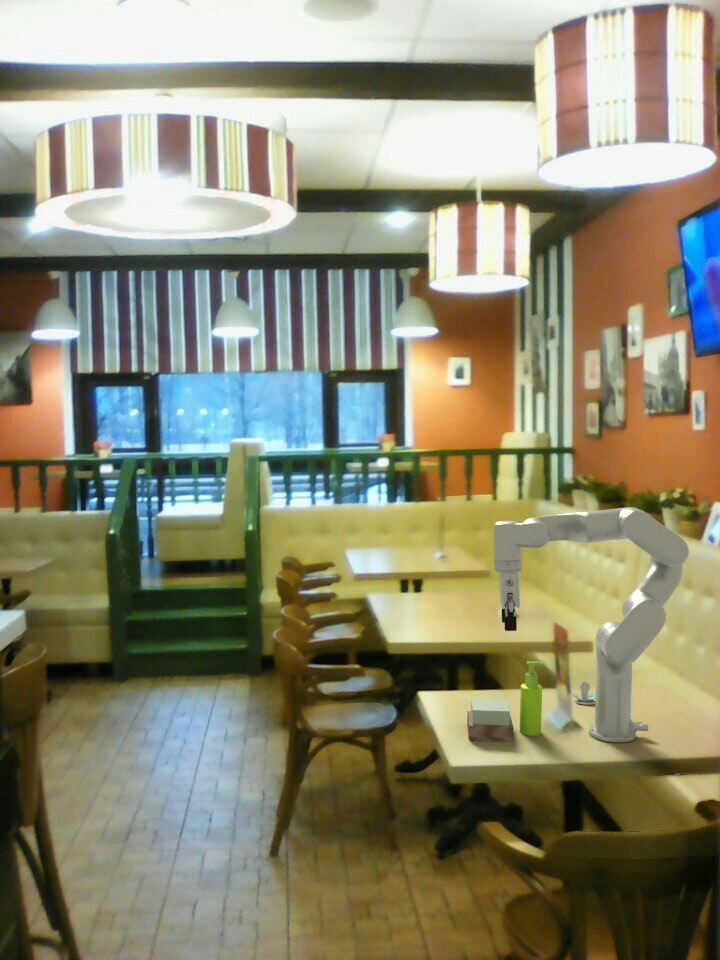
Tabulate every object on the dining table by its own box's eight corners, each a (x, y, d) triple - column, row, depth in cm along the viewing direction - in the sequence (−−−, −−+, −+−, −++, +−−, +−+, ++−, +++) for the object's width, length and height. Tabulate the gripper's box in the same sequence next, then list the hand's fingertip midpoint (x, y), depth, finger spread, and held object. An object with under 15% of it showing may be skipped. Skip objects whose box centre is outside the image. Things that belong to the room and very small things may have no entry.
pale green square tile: (506, 713, 248) (506, 699, 248) (509, 725, 238) (509, 711, 238) (471, 712, 249) (471, 698, 249) (472, 724, 239) (472, 710, 239)
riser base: (509, 726, 249) (509, 712, 249) (513, 741, 237) (513, 727, 237) (467, 724, 250) (467, 711, 250) (468, 739, 238) (469, 725, 238)
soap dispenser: (545, 736, 241) (547, 665, 240) (519, 735, 242) (521, 664, 241) (544, 729, 247) (545, 659, 246) (519, 727, 248) (520, 658, 247)
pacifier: (599, 706, 269) (593, 699, 275) (600, 686, 268) (594, 680, 274) (576, 706, 269) (571, 699, 274) (577, 686, 268) (571, 680, 274)
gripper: (524, 570, 234) (526, 633, 235) (518, 560, 251) (519, 619, 252) (496, 571, 234) (497, 634, 235) (492, 561, 251) (493, 619, 252)
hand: (509, 626), depth 243 cm, fingers open, 9 cm apart
